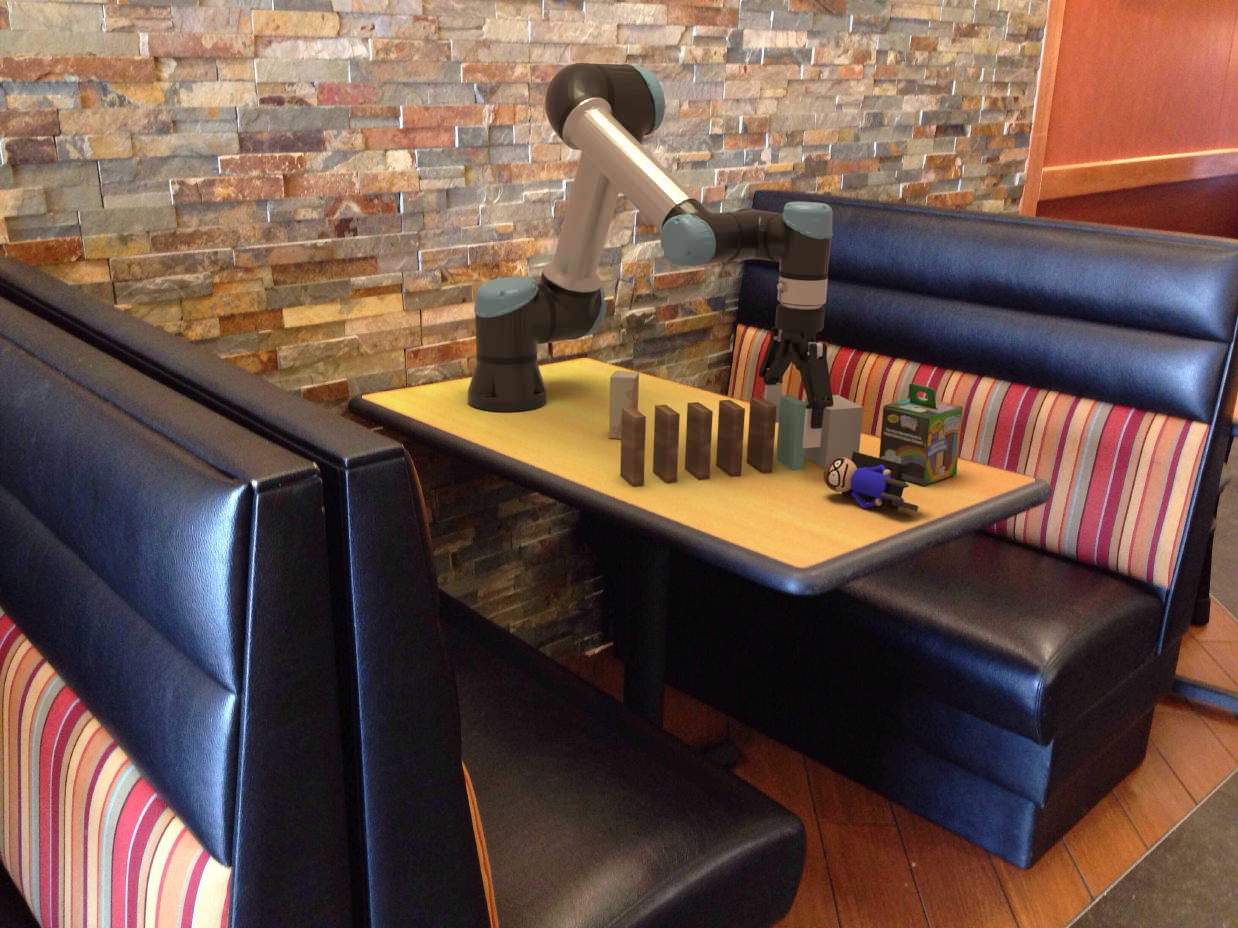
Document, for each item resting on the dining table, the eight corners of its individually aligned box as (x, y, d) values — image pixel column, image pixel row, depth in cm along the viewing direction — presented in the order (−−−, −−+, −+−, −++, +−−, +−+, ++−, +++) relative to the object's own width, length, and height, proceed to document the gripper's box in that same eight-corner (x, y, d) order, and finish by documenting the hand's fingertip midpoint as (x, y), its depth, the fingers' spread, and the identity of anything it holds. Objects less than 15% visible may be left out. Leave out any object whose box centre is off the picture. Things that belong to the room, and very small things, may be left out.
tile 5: (762, 473, 175) (766, 407, 171) (746, 463, 180) (750, 398, 176) (772, 472, 175) (776, 406, 172) (756, 462, 180) (760, 397, 177)
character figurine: (903, 527, 155) (816, 500, 165) (930, 511, 160) (844, 486, 170) (906, 475, 152) (817, 451, 162) (934, 461, 157) (845, 438, 167)
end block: (801, 455, 184) (805, 397, 181) (832, 451, 186) (837, 394, 183) (825, 469, 177) (830, 410, 174) (857, 466, 179) (863, 407, 176)
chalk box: (957, 476, 176) (968, 386, 171) (923, 487, 170) (934, 395, 165) (909, 461, 182) (918, 374, 178) (874, 472, 177) (883, 382, 172)
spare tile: (792, 470, 177) (797, 404, 173) (775, 460, 182) (780, 395, 178) (802, 469, 177) (807, 403, 174) (785, 459, 182) (790, 395, 179)
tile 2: (666, 483, 169) (668, 414, 166) (652, 472, 174) (655, 405, 171) (676, 482, 170) (679, 414, 166) (663, 471, 175) (665, 404, 171)
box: (632, 440, 190) (634, 378, 187) (608, 438, 191) (609, 376, 188) (638, 432, 195) (639, 371, 192) (614, 430, 196) (615, 369, 192)
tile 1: (632, 486, 168) (634, 417, 164) (620, 475, 173) (621, 407, 169) (643, 485, 168) (645, 416, 165) (630, 474, 173) (632, 407, 170)
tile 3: (698, 480, 171) (702, 412, 168) (684, 469, 176) (687, 402, 173) (709, 479, 172) (712, 411, 168) (694, 468, 177) (697, 402, 173)
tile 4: (730, 476, 173) (734, 409, 170) (715, 466, 178) (719, 400, 175) (741, 475, 174) (745, 408, 170) (725, 465, 179) (729, 399, 175)
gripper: (744, 291, 181) (736, 415, 188) (820, 321, 159) (807, 460, 166) (784, 289, 183) (775, 412, 190) (864, 319, 161) (851, 456, 168)
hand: (790, 434), depth 178 cm, fingers open, 13 cm apart
